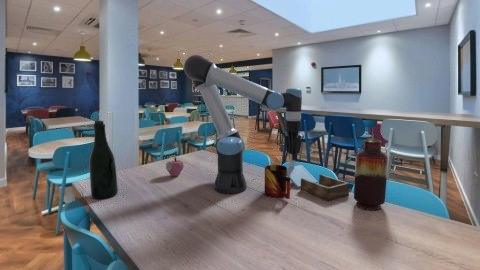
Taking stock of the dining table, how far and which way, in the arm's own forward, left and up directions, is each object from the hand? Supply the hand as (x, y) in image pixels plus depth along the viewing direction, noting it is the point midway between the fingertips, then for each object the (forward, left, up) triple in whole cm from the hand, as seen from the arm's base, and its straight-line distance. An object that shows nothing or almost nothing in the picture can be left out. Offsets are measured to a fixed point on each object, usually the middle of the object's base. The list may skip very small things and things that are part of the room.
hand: (292, 166), depth 136 cm
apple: (-58, -22, -8) cm, 63 cm away
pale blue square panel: (+5, -3, -4) cm, 7 cm away
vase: (+37, -17, -8) cm, 41 cm away
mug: (+2, -22, -8) cm, 24 cm away
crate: (+18, -10, -7) cm, 22 cm away
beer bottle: (-66, -59, -8) cm, 89 cm away
